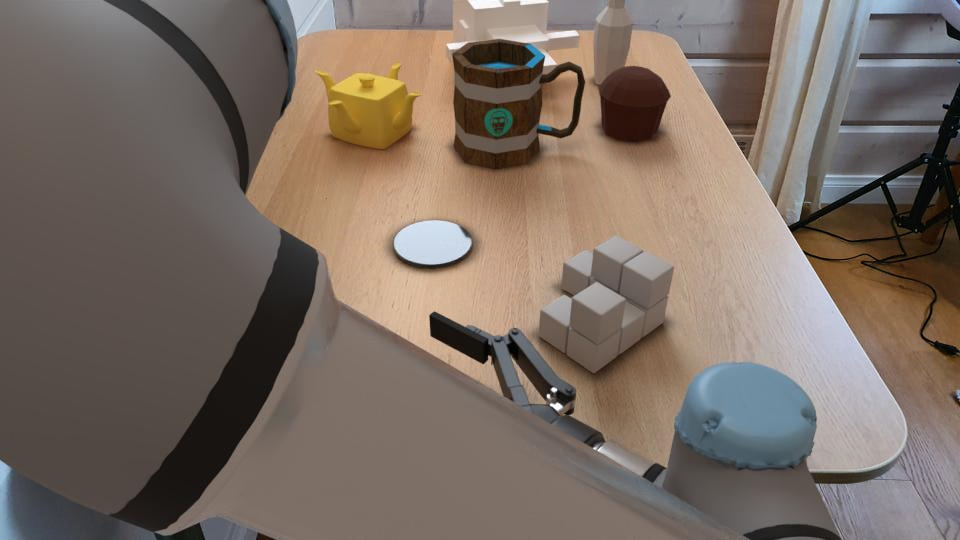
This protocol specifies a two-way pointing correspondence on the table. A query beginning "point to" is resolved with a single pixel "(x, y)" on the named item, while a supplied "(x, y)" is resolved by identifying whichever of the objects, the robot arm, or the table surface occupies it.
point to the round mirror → (432, 244)
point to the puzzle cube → (607, 302)
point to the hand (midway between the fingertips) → (383, 362)
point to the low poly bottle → (611, 39)
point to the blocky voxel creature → (508, 26)
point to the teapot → (369, 108)
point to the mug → (504, 102)
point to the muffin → (632, 103)
